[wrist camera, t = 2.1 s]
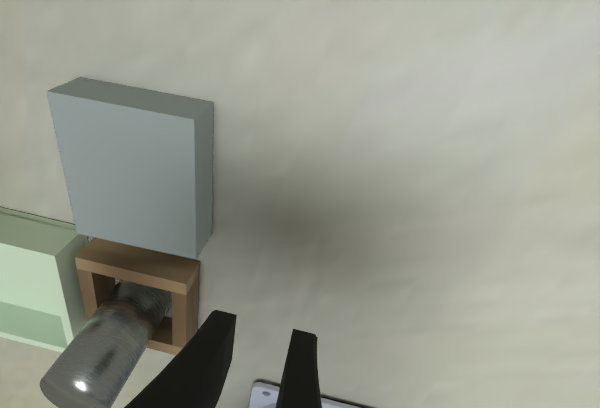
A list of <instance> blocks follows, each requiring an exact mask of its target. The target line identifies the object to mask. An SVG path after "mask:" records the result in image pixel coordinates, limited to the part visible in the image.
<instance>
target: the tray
mask: <svg viewBox="0 0 600 408" xmlns="http://www.w3.org/2000/svg"><path fill="white" fill-rule="evenodd" d="M87 244H88V239H87V236H86V235H82V234H77V231H76V226H75V225H73V224H69V223H65V222H61V221H56V220H52V219H48V218H44V217H40V216H35V215H31V214H27V213H23V212H19V211H14V210H10V209H6V208H2V207H0V337H4V338H7V339H11V340H15V341H19V342H23V343H27V344H31V345H35V346H39V347H43V348H46V349H50V350H54V351H58V352H62V353H63V351H64V350H65V349H66V348H67V346H68V345H69V344H70V343H71V341H72V340H73V339H74V338H75V336H76V335H77V334H78V333H79V331H80V330H81V329H82V327H83V326H84V325H85V324H86V322H87V318H86V313H85V308H84V303H83V298H82V292H81V287H80V282H79V277H78V272H77V267H76V261H75V256H76V255H77V254H78V253H79V252H80V251H81V250H82V249H83V248H84V247H85V246H86V245H87Z"/></svg>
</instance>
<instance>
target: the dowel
mask: <svg viewBox="0 0 600 408" xmlns="http://www.w3.org/2000/svg"><path fill="white" fill-rule="evenodd" d="M171 305H172V294H171V291H167V290H163V289H158V288H154V287H150V286H146V285H142V284H138V283H134V282H130V281H126V280H122V279H121V280H120V281H119V282H118V283H117V285H116V286H115V287H114V288H113V290H112V291H111V292H110V294H109V295H108V296H107V297H106V299H105V300H104V301H103V302H102V304H101V305H100V306H99V307H98V309H97V310H96V311H95V312H94V314H93V315H92V316H91V317H90V319H89V320H88V321H87V322H86V324H85V325H84V326H83V327H82V329H81V330H80V331H79V333H78V334H77V335H76V336H75V338H74V339H73V340H72V341H71V343H70V344H69V345H68V346H67V348H66V349H65V350H64V351H63V353H62V354H61V355H60V356H59V358H58V359H57V360H56V361H55V363H54V364H53V365H52V367H51V368H50V369H49V370H48V372H47V373H46V374H45V375H44V377H43V378H42V379H41V381H40V388H41V390H42V392H43V394H44V395H45V396H46V398H47V399H48V400H49V401H51V402H52V403H53V404H54V405H56V406H57V407H59V408H111V406H112V404H113V403H114V401H115V399H116V398H117V396H118V394H119V393H120V391H121V389H122V387H123V386H124V384H125V382H126V381H127V379H128V377H129V376H130V374H131V372H132V371H133V369H134V367H135V366H136V364H137V362H138V360H139V359H140V357H141V355H142V354H143V352H144V350H145V349H146V347H147V345H148V344H149V342H150V340H151V339H152V337H153V335H154V333H155V332H156V330H157V328H158V327H159V325H160V323H161V322H162V320H163V318H164V317H165V315H166V313H167V311H168V310H169V308H170V306H171Z"/></svg>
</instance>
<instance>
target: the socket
mask: <svg viewBox="0 0 600 408" xmlns="http://www.w3.org/2000/svg"><path fill="white" fill-rule="evenodd" d="M75 261H76V267H77V272H78V277H79V282H80V287H81V292H82V298H83V303H84V308H85V313H86V318H87V321H88V320H89V319H90V317H91V316H92V315H93V314H94V312H95V311H96V310H97V309H98V307H99V306H100V305H101V304H102V302H103V301H104V300H105V299H106V297H107V296H108V295H109V294H110V292H111V291H112V290H113V288H114V287H115V282H114V278H117V279H122V280H126V281H130V282H134V283H138V284H142V285H146V286H150V287H154V288H158V289H163V290H167V291H171V294H172V318H168V317H164V318H163V320H162V322H161V323H160V325H159V327H158V328H157V330H156V332H155V333H154V335H153V337H152V339H151V340H150V342H149V344H148V345H147V347H146V348H150V349H154V350H158V351H162V352H166V353H170V354H174V355H177V354H178V353H179V352H180V351H181V350H182V349H183V348H184V346H185V345H186V344H187V343H188V342H189V341H190V339H191V338H192V337H193V336H194V335H195V333H196V332H197V331H198V297H199V264H200V262H199V261H195V260H191V259H187V258H183V257H179V256H174V255H170V254H166V253H162V252H158V251H153V250H149V249H145V248H141V247H137V246H132V245H128V244H123V243H118V242H114V241H109V240H105V239H100V238H96V237H94V238H93V239H92V240H91V241H90V242H89V243H88V244H87V245H86V246H85V247H84V248H83V249H82V250H81V251H80V252H79V253H78V254H77V255H76V256H75Z"/></svg>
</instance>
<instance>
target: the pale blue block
mask: <svg viewBox="0 0 600 408" xmlns="http://www.w3.org/2000/svg"><path fill="white" fill-rule="evenodd" d="M47 96H48V101H49V105H50V110H51V115H52V119H53V124H54V128H55V133H56V138H57V142H58V147H59V152H60V156H61V161H62V166H63V170H64V175H65V180H66V184H67V189H68V193H69V198H70V203H71V207H72V212H73V217H74V221H75V226H76V231H77V234H82V235H86V236H91V237H96V238H100V239H105V240H109V241H114V242H118V243H123V244H128V245H132V246H137V247H141V248H146V249H150V250H155V251H160V252H164V253H169V254H173V255H178V256H182V257H187V258H191V259H197V257H198V256H199V254H200V252H201V251H202V249H203V247H204V246H205V244H206V242H207V241H208V239H209V237H210V236H211V234H212V196H213V129H214V102H210V101H205V100H200V99H194V98H189V97H184V96H178V95H173V94H168V93H162V92H157V91H152V90H146V89H141V88H135V87H130V86H125V85H119V84H114V83H109V82H103V81H98V80H93V79H87V78H82V77H80V78H77V79H75V80H73V81H70V82H68V83H65V84H63V85H60V86H58V87H55V88H53V89H51V90H48V91H47Z"/></svg>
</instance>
